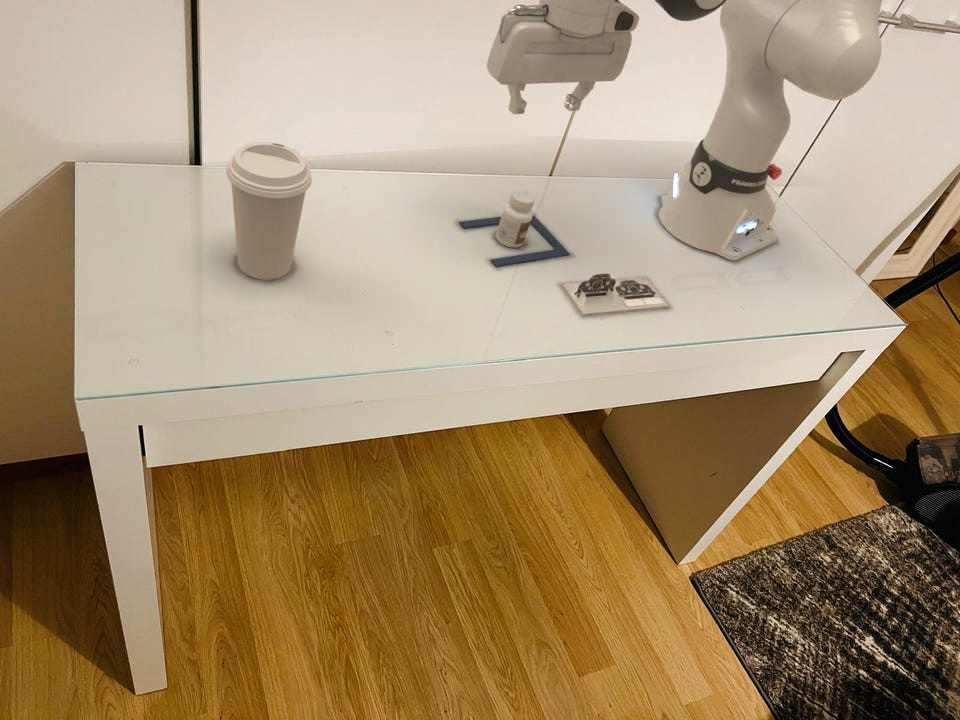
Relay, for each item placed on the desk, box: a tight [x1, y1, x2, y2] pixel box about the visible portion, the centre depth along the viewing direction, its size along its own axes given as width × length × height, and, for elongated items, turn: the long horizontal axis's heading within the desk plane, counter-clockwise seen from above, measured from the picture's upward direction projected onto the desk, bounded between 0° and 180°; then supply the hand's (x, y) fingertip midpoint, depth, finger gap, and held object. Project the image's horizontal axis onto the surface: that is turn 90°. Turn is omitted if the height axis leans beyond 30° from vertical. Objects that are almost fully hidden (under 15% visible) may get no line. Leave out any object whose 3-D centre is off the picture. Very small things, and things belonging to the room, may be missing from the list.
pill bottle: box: [495, 189, 535, 248], centre depth 112 cm, size 4×4×8 cm
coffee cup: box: [225, 141, 313, 281], centre depth 92 cm, size 10×10×15 cm
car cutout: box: [560, 273, 670, 317], centre depth 108 cm, size 15×7×4 cm, turn 112°
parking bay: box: [458, 214, 570, 268], centre depth 115 cm, size 14×11×1 cm
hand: (543, 110), depth 103 cm, fingers open, 8 cm apart
